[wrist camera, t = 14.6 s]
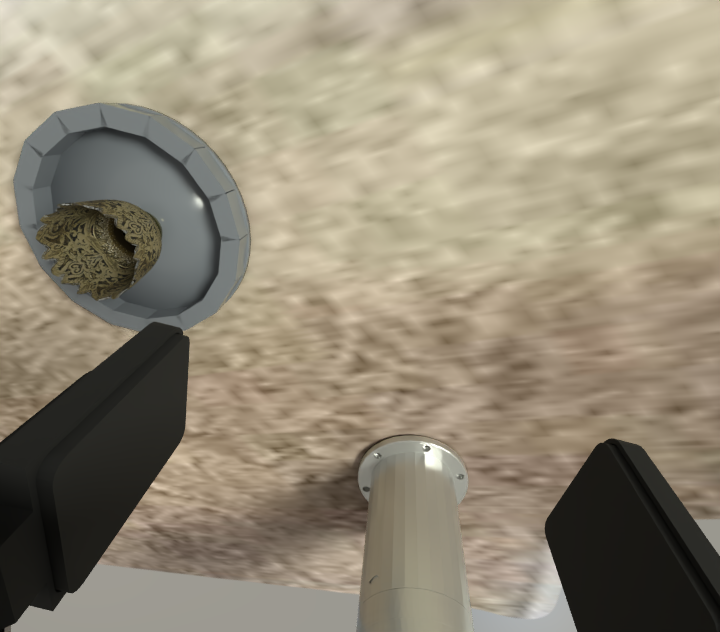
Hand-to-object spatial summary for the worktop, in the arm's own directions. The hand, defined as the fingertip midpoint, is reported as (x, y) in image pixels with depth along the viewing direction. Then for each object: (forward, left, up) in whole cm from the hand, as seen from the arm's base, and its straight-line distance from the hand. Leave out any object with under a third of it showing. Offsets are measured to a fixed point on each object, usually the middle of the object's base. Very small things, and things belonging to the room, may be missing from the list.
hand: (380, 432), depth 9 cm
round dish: (-8, +22, -28) cm, 37 cm away
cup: (-8, +22, -28) cm, 36 cm away
